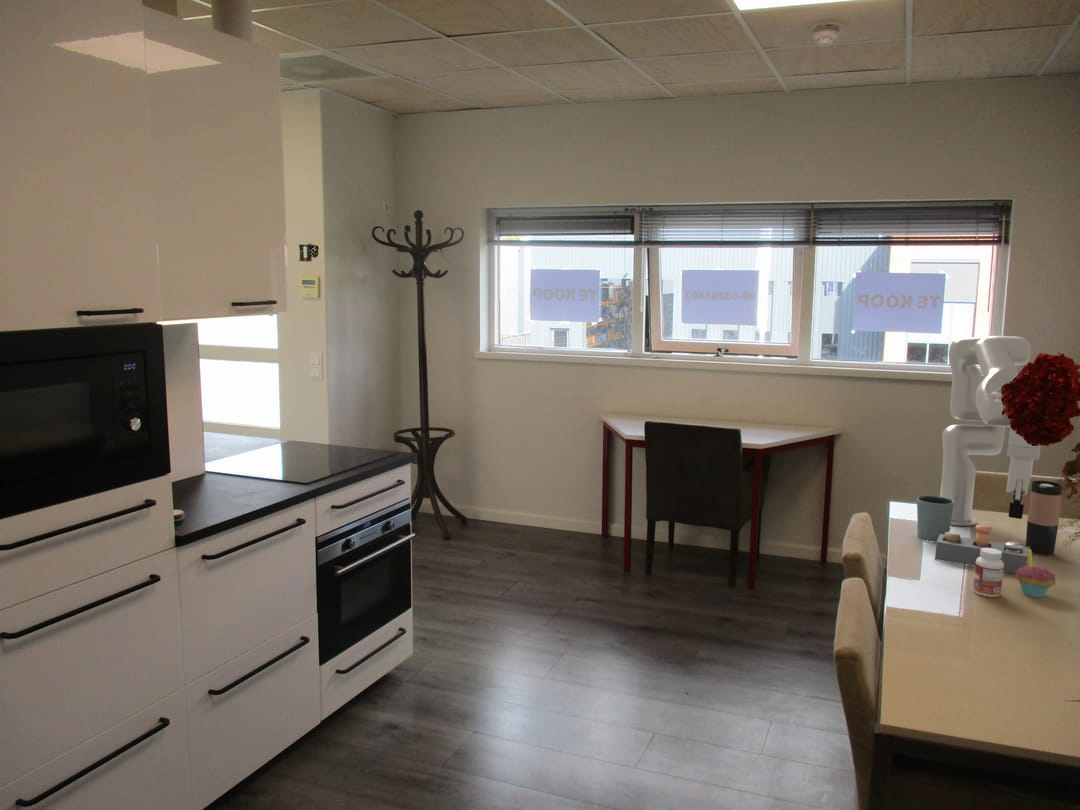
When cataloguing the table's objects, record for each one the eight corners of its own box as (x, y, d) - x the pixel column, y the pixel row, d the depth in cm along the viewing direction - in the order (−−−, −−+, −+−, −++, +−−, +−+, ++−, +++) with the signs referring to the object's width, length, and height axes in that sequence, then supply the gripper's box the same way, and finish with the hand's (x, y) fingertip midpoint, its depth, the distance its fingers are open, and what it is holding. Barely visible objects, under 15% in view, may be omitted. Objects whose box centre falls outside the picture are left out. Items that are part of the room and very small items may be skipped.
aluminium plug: (1003, 561, 231) (1005, 540, 230) (1020, 564, 229) (1022, 543, 228) (1002, 565, 227) (1005, 544, 226) (1019, 568, 225) (1022, 547, 224)
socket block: (938, 550, 241) (939, 533, 240) (1026, 564, 230) (1028, 547, 229) (934, 559, 233) (936, 541, 233) (1025, 574, 222) (1027, 556, 222)
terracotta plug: (974, 544, 234) (976, 523, 233) (990, 546, 232) (992, 525, 231) (973, 548, 230) (975, 526, 229) (989, 550, 228) (991, 529, 227)
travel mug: (1046, 547, 245) (1054, 481, 242) (1060, 556, 238) (1068, 487, 235) (1019, 546, 246) (1026, 480, 243) (1031, 554, 239) (1039, 486, 236)
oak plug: (943, 551, 238) (945, 531, 237) (959, 554, 236) (961, 533, 235) (941, 555, 235) (943, 534, 234) (957, 558, 233) (959, 537, 232)
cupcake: (1014, 596, 207) (1019, 549, 205) (1013, 585, 214) (1018, 540, 212) (1054, 603, 203) (1060, 555, 201) (1052, 591, 210) (1057, 545, 209)
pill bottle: (972, 587, 213) (977, 545, 211) (1000, 591, 210) (1004, 548, 208) (972, 595, 207) (977, 552, 206) (1001, 599, 204) (1005, 556, 203)
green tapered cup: (956, 543, 248) (960, 504, 246) (922, 542, 248) (925, 503, 246) (941, 533, 258) (944, 495, 256) (908, 532, 258) (911, 494, 256)
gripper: (1008, 444, 231) (1000, 507, 235) (1006, 455, 219) (998, 522, 222) (1040, 447, 228) (1031, 512, 231) (1039, 459, 215) (1030, 527, 218)
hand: (1015, 517), depth 227 cm, fingers closed
